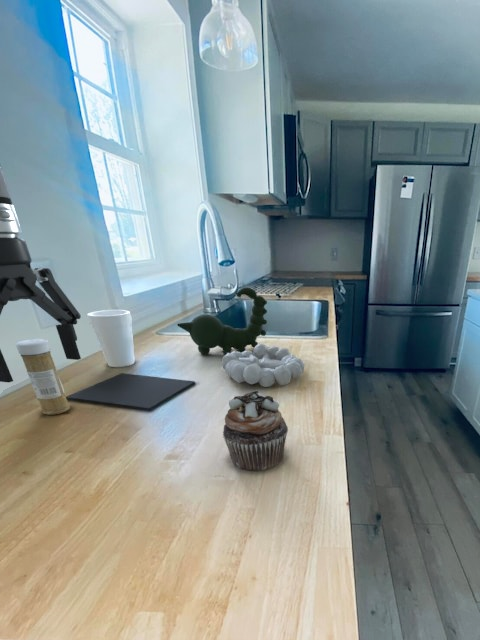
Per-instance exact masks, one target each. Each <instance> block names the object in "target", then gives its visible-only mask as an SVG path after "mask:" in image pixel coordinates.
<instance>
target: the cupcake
mask: <svg viewBox="0 0 480 640" xmlns="http://www.w3.org/2000/svg"><path fill="white" fill-rule="evenodd" d="M228 406H229V409H228V410H227V413H226V414H225V416H224V423H225V424H224V425H223V431H222V438H223V440H224V442H225V444H226V447H227V450H228V452H229V456H230V459H231V461H232V463H233V465H234V466H235V467H237V468H239V470H240V469H241V470H243V471H247V472H260V471H265V470H268V469H273V468H274V467H276V466H278V465H279V463H281V462H282V461H283V457H284V452H285V444H286V440H287V436H288V431H289V429H288V428H289V426H288V425H287V423H286V420H285V418H284V417H283V415H282V413H281V411H280V409H279V407H280V403H279V401H277V400H274V397H273V396H270V395H265V396H264V395H263V394H262V393H260V392H259V390H253V391H250V392H247V393H245V394H243V395H238V396H237V395H235V396H234V397H233V399H232V398H231V399H229V400H228Z"/></svg>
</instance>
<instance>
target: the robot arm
mask: <svg viewBox="0 0 480 640" xmlns="http://www.w3.org/2000/svg"><path fill="white" fill-rule="evenodd" d="M7 184H8V183H7V181H6V179H5V175H4V172H3V168H2V165H1V164H0V316H1V315H2V312H3V310H4V308H5V306H6V305H7V304H8V303H9V302H16V301H19V300H31V302H33V303H34V304H36V305H37V306H38V307H39V308H41V309H42V310H43V311H44V312H45V313H47V314H48V315H49V316H50V317H52V318H53V319H54V320H55V321H57V322H58V323H59V324H56V325H55V329H56V331H57V334H58V337H59V341H60V343H61V346H62V349H63V353H64V355H65V358H66V360H75V361H76V360H77V361H80V360H82V358H81V354H80V351H79V348H78V345H77V341H78V336H77V333H76V330H75V326H74V325H77V324H78V320H80V319H81V313H79V311H78V310H77V308H76V307H75V305H74V304H73V303H72V301H71V300H70V299H69V298H68V296H67V295H66V293H65V292H64V291H63V289H62V288H61V286H60V285H59V283H57V281H56V280H55V277H54V274H53V273H52V270H51V269H50V268H47V267H35V268H32V266H31V263H32V262H33V261H32V257H31V254H30V250H29V248H28V244H27V241H26V240H24V238H20V235H22V234H23V230H22V228H21V227H22V226H21V224H20V221H19V218H18V215H17V211H16V210H15V206H14V204H13V202H12V197H11V193H10V190H9V188H8V185H7ZM37 282H38V283H39V285H40V286H41V288H42V289H43V290H42V289H41V288H40V287H39V286H38V285H37V284H36V283H37ZM46 294H47V295H46ZM9 369H10V368H9V366H8V365H7V362H6V359H5V357H4V354H3V352H2V350H1V348H0V382H1V383H12V382H14V379H13V376H12V374H11V371H10V370H9Z"/></svg>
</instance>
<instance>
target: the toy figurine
mask: <svg viewBox="0 0 480 640" xmlns="http://www.w3.org/2000/svg"><path fill="white" fill-rule="evenodd" d="M243 295H244V296H246V297H248V298H249V299H251V300H252V303H253V305H252V307H251V314H250V317H249V323H247V325H246V327H243V328H239V327H237V328H233V326H231V325H228V324H223V323H222V321H221V320H220V319H219V318H218V317H216V316H214V315H212V314H208V313H202V314H199V315H196V316H195V317H194V318H193V319H192V320H191V321H189V322H180V323H177V324H176V325H177V327H179V328H180V329H182V330H184V331H186V332H187V333H189V336H190V338H191V340H192V341H193V343H194V344H195V345H196V346H197V350H198V352H199V353H200V354H201V355H204V356H205V355H208V354H209V353H210V351H211V349H214V348H216V347H219V348H221V349H222V351H223V352H224V353H226V354H227V353H231V352H232V349H234V350H238V352H240V353H241V352H244V351H245V350H246V348H247V347H248V346H251V347H252V348H253V349H254V348H255V346H256V345H258V344H259V342H258V341H257V339H258V337H260V336H262V337H265V336H266V335H267V331H266V330H265V329H263V326H264V325H267V323H268V321H267V319H265V318H264V316H265V315H266V314H267V313H268V310H267V309H266V307H265V305H267V304H268V301H267V300H266V299H265V298H264V297H263V296H262V295H258V294H257V292H256V290H255V289H254V288H251V287H242V288H241V289H239V290H238V291H237V292H236V297H237V298H239V297H240V296H243Z"/></svg>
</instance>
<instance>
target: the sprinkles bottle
mask: <svg viewBox="0 0 480 640" xmlns="http://www.w3.org/2000/svg"><path fill="white" fill-rule="evenodd" d="M15 346H16V349H17V352H18V354H19V355H20V357H21V359H22V361H23V363H24V366H25V367H24V368H25V369H26V373H27V375H28V378H29V381H30V384H31V386H32V389H33V391H34V394H35V397H36V398H37V400H38V403H39V406H40V409H41V413H42V414H44V415H48V416H52V415H53V416H54V415H59V414H63V413H65V412H67V411H69V410H70V408H71V405H70V404H69V401H68V400H67V399H66V397H67V395H66V393H65V389H64V386H63V383H62V380H61V378H60V376H59V373H58V370H57V367H56V365H55V362H54V360H53V357H52V355H51V347H50V344H49V342H48V340H47V339H45V338H30V339H24V340H20V341H17V342H16V344H15Z"/></svg>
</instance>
